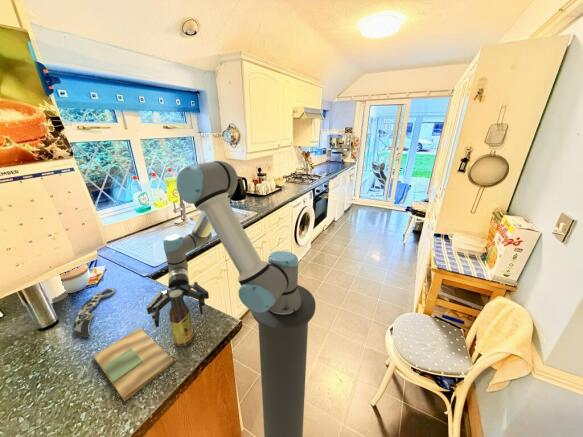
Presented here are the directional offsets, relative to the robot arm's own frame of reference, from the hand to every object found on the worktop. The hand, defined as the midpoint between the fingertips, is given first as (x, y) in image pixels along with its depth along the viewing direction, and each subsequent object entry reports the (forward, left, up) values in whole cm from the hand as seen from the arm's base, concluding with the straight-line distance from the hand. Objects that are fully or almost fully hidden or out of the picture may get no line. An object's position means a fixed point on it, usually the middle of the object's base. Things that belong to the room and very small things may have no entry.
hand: (179, 317), depth 78 cm
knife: (+43, +14, -11) cm, 46 cm away
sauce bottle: (+1, 0, -11) cm, 11 cm away
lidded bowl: (+67, +12, -11) cm, 69 cm away
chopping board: (+7, +14, -11) cm, 19 cm away
